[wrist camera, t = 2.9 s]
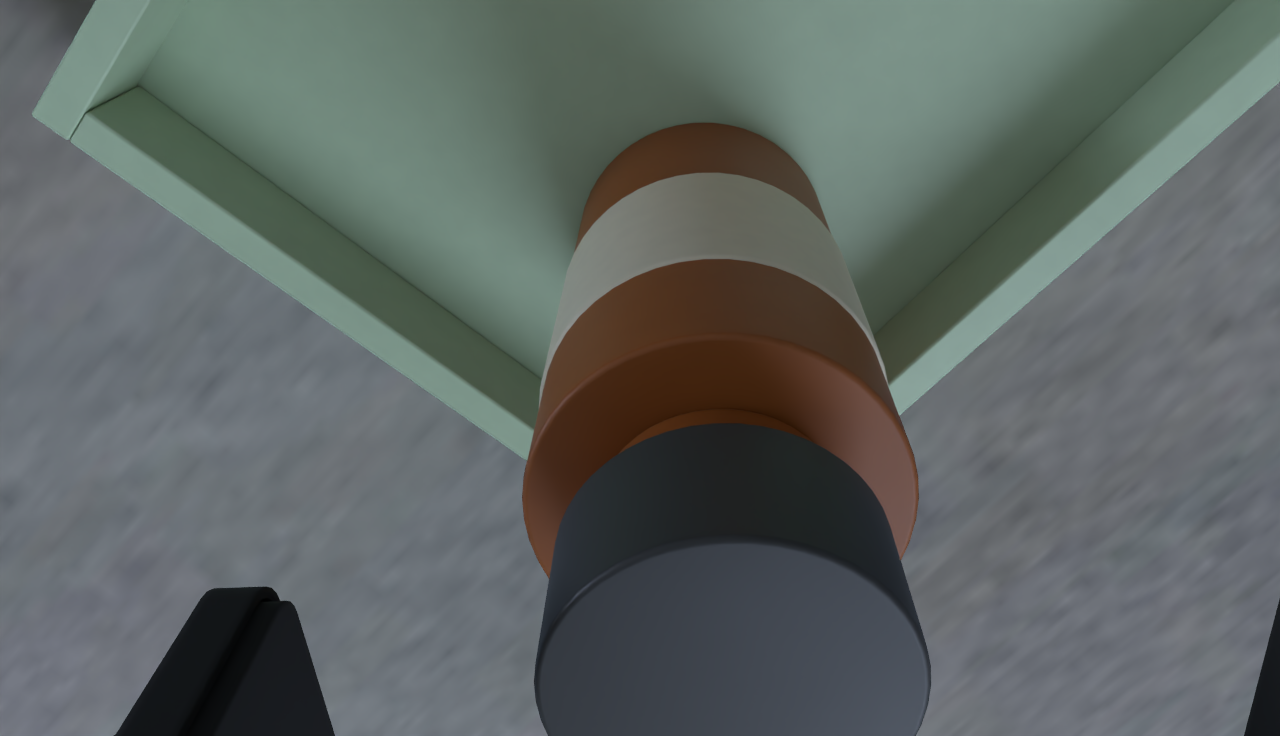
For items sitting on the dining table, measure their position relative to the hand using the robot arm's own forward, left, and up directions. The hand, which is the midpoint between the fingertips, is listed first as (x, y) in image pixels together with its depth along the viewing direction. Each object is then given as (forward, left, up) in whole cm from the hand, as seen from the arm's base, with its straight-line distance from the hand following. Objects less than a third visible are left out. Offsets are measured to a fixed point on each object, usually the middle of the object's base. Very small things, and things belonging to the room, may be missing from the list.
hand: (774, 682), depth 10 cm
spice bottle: (0, 0, -12) cm, 12 cm away
